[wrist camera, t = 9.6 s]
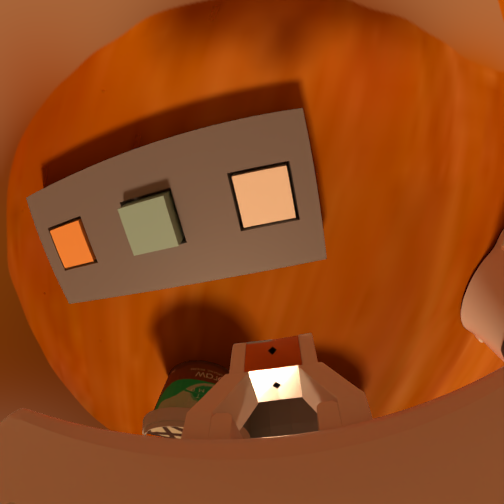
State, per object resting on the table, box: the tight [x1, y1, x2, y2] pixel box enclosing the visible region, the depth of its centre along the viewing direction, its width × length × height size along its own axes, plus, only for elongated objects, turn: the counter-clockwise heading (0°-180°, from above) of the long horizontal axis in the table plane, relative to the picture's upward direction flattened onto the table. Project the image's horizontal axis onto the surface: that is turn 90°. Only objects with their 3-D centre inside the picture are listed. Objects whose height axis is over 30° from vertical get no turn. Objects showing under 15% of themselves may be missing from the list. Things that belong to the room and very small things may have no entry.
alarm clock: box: [243, 397, 318, 439], centre depth 32 cm, size 19×20×12 cm
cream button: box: [232, 163, 296, 228], centre depth 21 cm, size 4×4×2 cm
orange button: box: [50, 217, 96, 268], centre depth 23 cm, size 4×4×2 cm
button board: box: [26, 108, 327, 304], centre depth 23 cm, size 26×12×3 cm, turn 102°
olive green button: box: [118, 190, 184, 256], centre depth 21 cm, size 4×4×2 cm
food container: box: [143, 361, 250, 439], centre depth 28 cm, size 12×6×10 cm, turn 78°
